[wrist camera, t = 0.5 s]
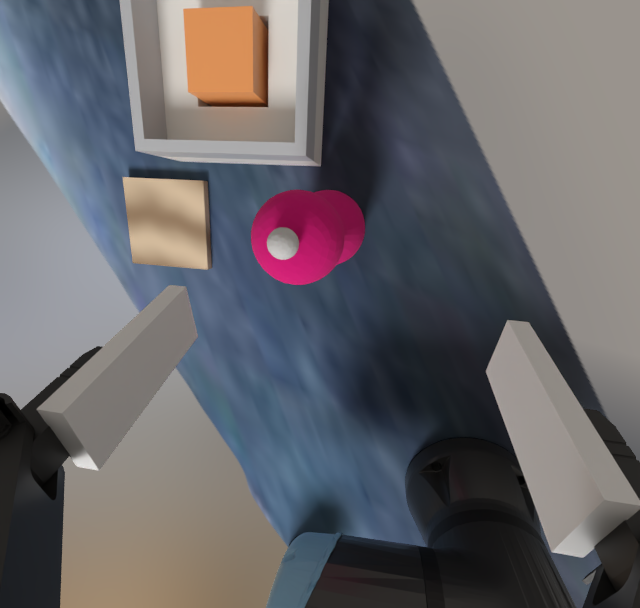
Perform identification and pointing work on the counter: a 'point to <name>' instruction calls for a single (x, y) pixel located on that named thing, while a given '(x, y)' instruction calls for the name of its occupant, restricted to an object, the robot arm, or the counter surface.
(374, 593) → the robot arm
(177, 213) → the cork mat
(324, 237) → the pepper mill
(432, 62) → the counter surface
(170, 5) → the grey open box
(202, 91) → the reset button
